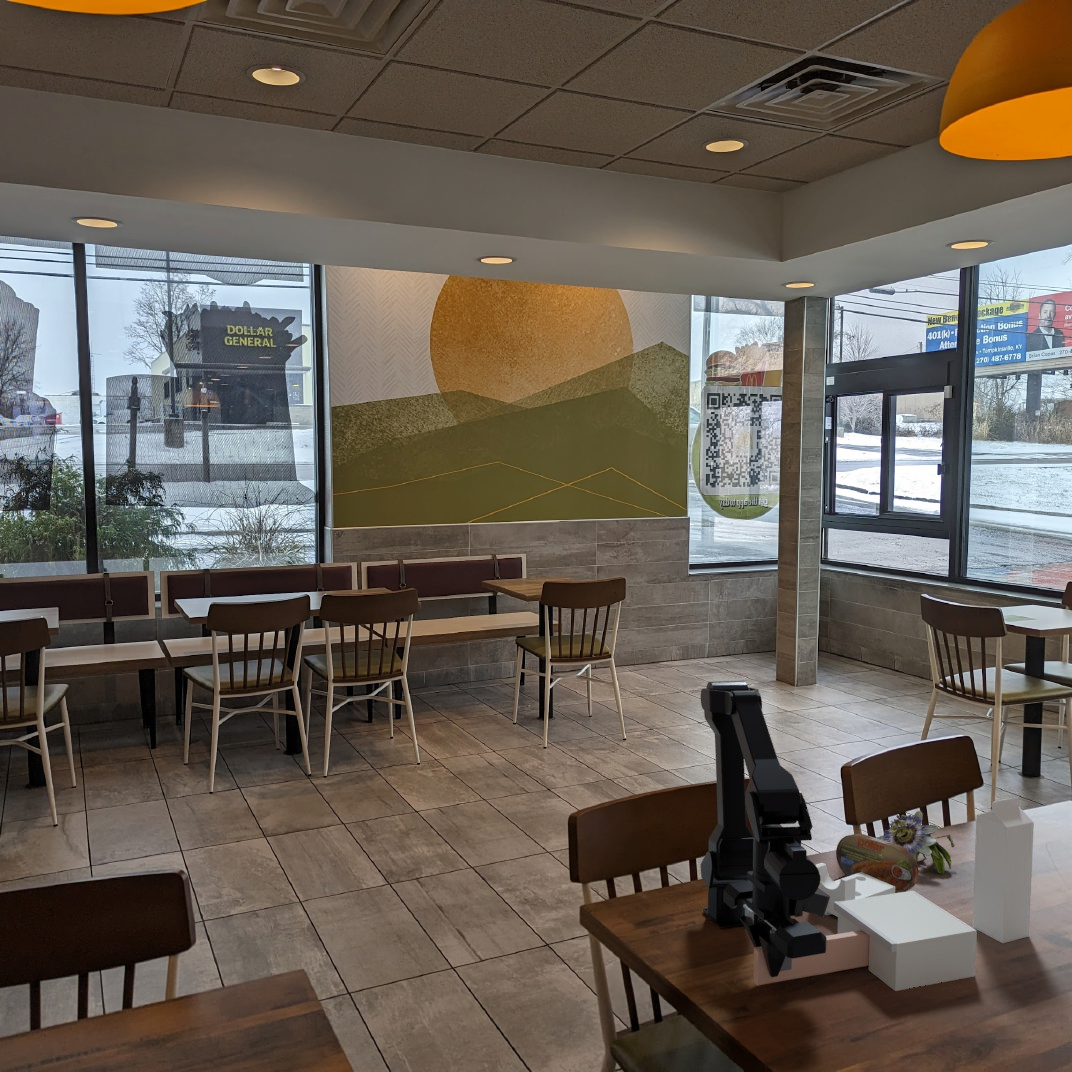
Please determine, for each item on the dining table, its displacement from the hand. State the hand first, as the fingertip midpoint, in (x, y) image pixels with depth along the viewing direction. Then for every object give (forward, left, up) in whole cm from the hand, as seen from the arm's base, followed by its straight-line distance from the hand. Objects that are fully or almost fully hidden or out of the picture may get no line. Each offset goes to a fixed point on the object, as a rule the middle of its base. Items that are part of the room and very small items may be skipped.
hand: (771, 973), depth 139 cm
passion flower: (+49, +30, -2) cm, 58 cm away
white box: (+23, 0, -2) cm, 23 cm away
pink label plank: (+8, 0, -1) cm, 9 cm away
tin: (+36, +24, -2) cm, 43 cm away
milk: (+44, +3, -2) cm, 44 cm away
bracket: (+27, +18, -2) cm, 32 cm away
